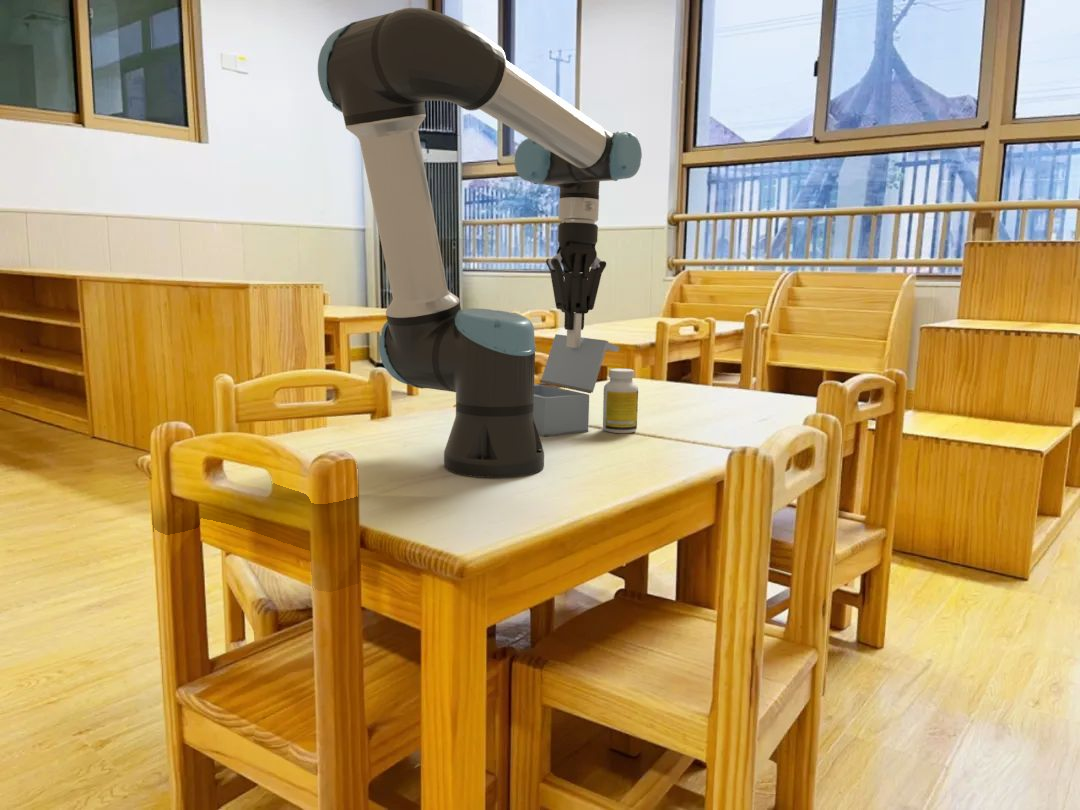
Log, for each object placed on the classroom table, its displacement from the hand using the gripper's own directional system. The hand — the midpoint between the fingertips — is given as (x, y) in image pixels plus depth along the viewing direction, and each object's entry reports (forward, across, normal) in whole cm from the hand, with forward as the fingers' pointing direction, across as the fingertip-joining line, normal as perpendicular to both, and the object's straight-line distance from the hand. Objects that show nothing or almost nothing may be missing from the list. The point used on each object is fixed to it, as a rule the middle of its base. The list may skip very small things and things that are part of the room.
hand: (573, 346), depth 157 cm
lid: (+3, -1, 0) cm, 3 cm away
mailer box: (+15, -7, 0) cm, 17 cm away
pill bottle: (+15, +4, -10) cm, 19 cm away
